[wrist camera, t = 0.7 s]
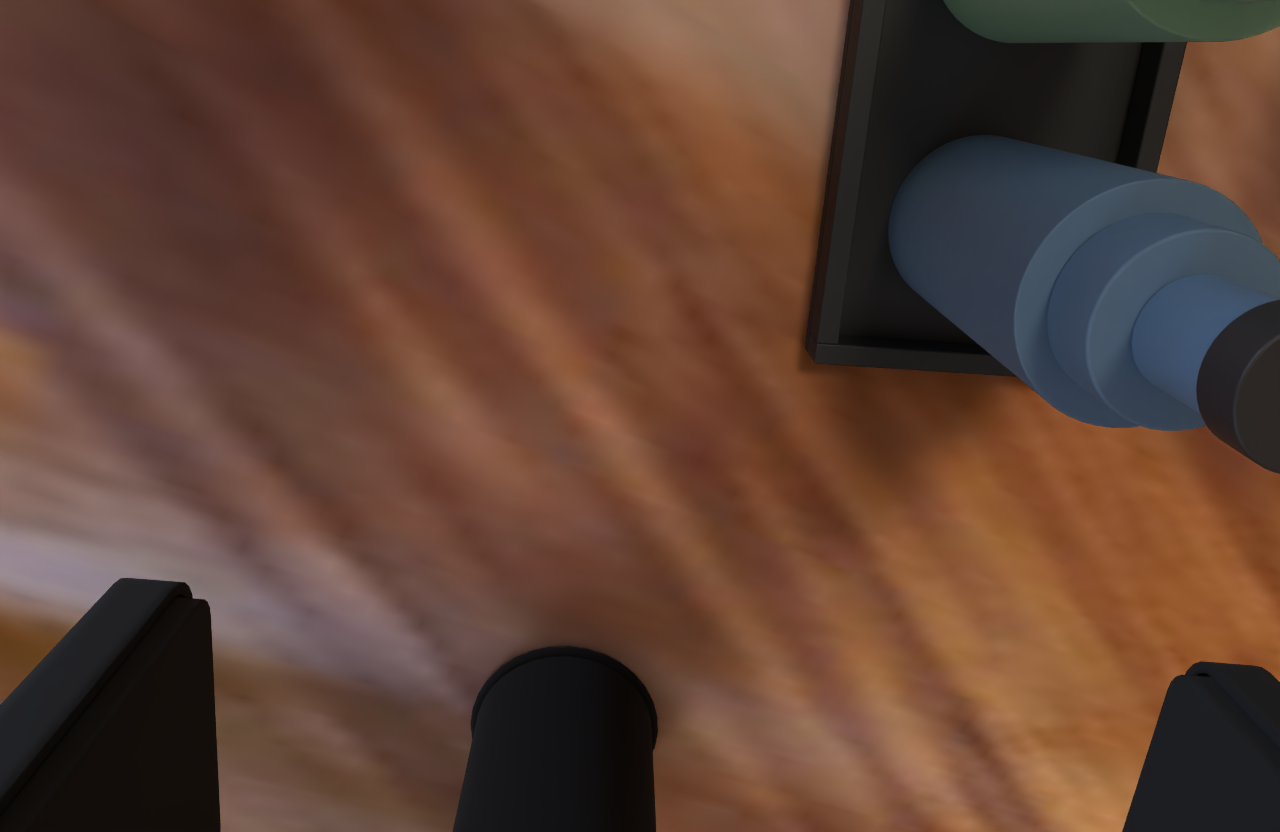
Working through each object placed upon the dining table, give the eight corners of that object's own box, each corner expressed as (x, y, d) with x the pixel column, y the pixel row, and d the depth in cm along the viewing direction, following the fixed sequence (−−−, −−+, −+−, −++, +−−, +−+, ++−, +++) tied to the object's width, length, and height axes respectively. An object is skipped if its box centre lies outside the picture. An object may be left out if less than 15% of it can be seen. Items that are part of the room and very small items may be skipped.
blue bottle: (902, 128, 37) (1196, 213, 18) (1078, 141, 37) (1548, 238, 18) (875, 303, 39) (1113, 542, 20) (1042, 314, 39) (1429, 561, 20)
